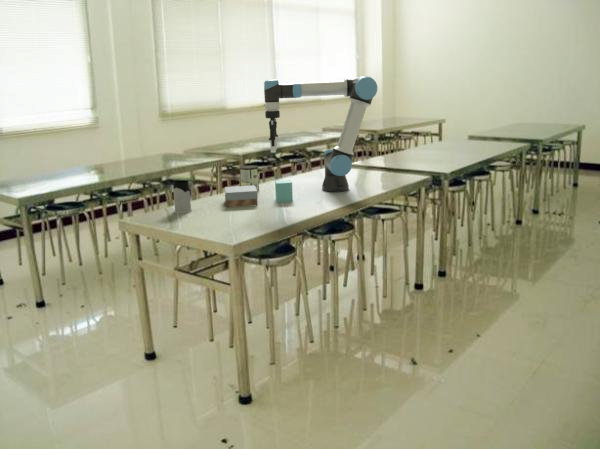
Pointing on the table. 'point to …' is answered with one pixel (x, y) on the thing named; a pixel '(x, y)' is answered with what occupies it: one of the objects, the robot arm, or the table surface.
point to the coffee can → (249, 176)
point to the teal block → (283, 191)
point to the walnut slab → (240, 202)
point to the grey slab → (241, 192)
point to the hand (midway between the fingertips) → (274, 150)
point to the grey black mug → (182, 196)
